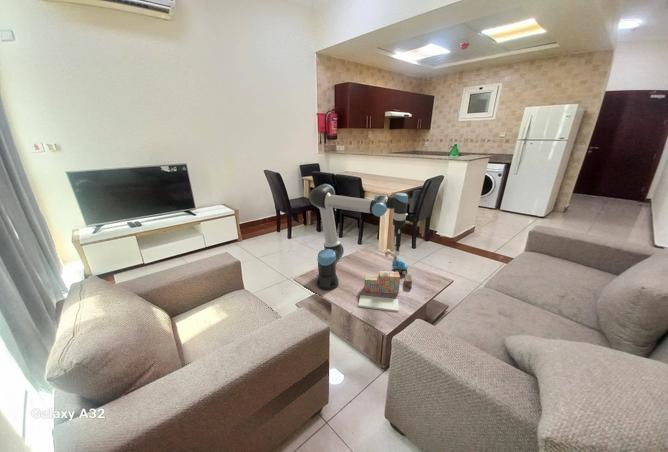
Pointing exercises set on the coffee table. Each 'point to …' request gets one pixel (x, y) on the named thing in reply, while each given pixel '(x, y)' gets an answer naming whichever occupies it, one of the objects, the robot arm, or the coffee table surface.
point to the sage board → (378, 303)
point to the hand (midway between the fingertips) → (396, 250)
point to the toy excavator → (397, 263)
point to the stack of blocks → (383, 282)
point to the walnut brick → (408, 281)
